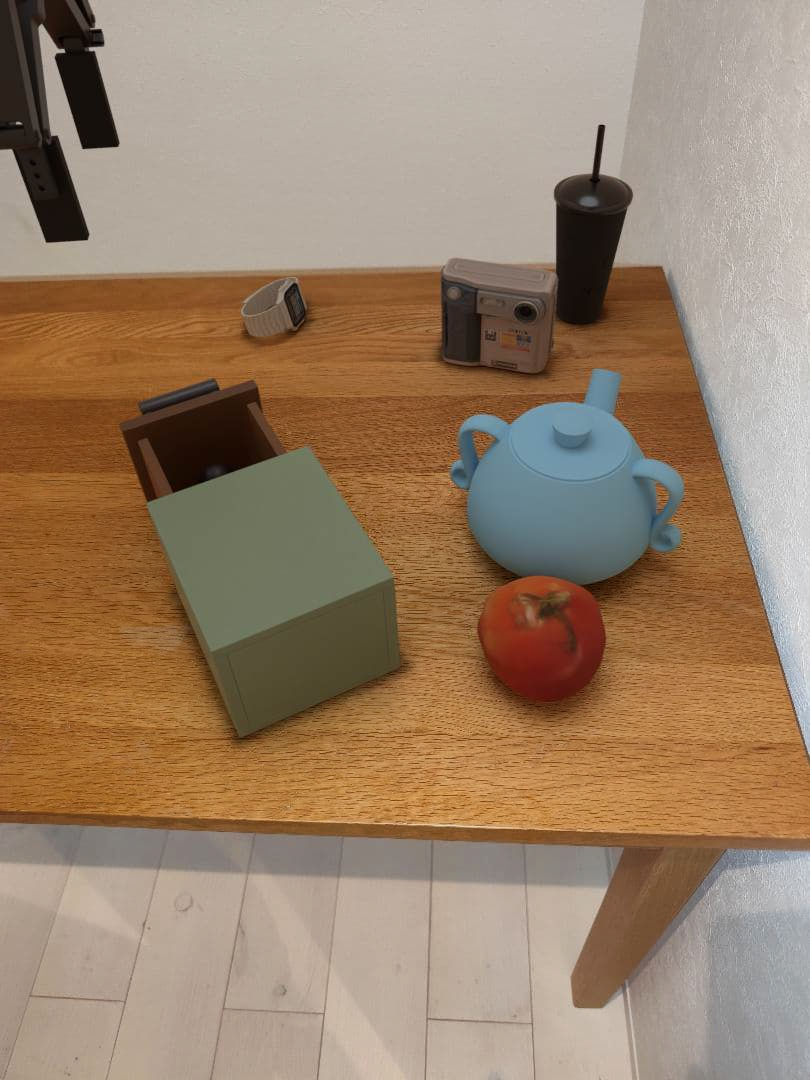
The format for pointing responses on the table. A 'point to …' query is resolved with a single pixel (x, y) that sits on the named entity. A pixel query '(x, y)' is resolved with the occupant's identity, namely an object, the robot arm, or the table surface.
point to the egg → (214, 472)
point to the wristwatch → (275, 308)
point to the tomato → (542, 637)
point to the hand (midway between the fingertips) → (86, 189)
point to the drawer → (197, 435)
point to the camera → (497, 315)
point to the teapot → (566, 489)
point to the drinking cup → (587, 238)
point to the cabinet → (279, 587)
